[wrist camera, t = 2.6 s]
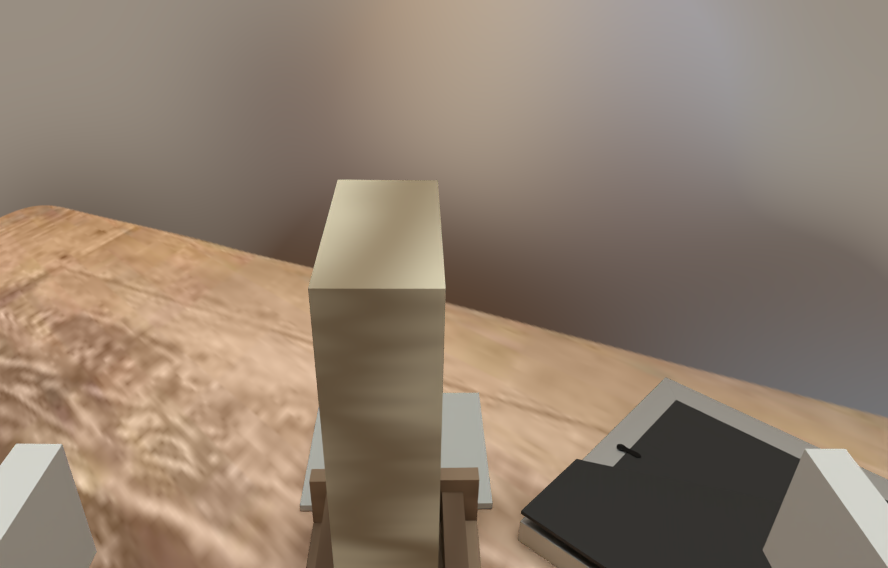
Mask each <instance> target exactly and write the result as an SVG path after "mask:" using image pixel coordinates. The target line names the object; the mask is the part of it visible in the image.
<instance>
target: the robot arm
mask: <svg viewBox="0 0 888 568" xmlns="http://www.w3.org/2000/svg"><path fill="white" fill-rule="evenodd" d="M96 552H97V551H96V548H95V545H94V541H93V538H92V535H91V532H90V529H89V526H88V523H87V520H86V517H85V513H84V510H83V507H82V504H81V501H80V498H79V495H78V492H77V489H76V485H75V482H74V479H73V476H72V473H71V470H70V467H69V464H68V461H67V457H66V454H65V451H64V448H63V445H62V444H16V445H15V446H14V447H13V449H12V450H11V452H10V453H9V454H8V456H7V457H6V458H5V460H4V461H3V463H2V464H1V465H0V568H89V566H90V564H91V562H92V560H93V558H94V556H95V554H96ZM763 552H764V554H765V556H766V558H767V560H768V561H769V563H770V565H771V567H772V568H888V503H887V502H886V501H885V499H884V498H883V497H882V495H881V494H880V493H879V492H878V490H877V489H876V488H875V486H874V485H873V484H872V482H871V481H870V480H869V479H868V477H867V476H866V475H865V473H864V472H863V471H862V470H861V468H860V467H859V466H858V464H857V463H856V462H855V461H854V459H853V458H852V457H851V455H850V454H849V453H848V451H847V450H846V449H805V450H804V452H803V454H802V457H801V459H800V462H799V464H798V466H797V469H796V471H795V474H794V476H793V478H792V481H791V483H790V486H789V488H788V490H787V493H786V495H785V498H784V500H783V502H782V505H781V507H780V510H779V512H778V514H777V517H776V519H775V522H774V524H773V526H772V529H771V531H770V534H769V536H768V538H767V541H766V543H765V546H764V548H763Z"/></svg>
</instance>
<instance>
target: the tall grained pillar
mask: <svg viewBox="0 0 888 568" xmlns="http://www.w3.org/2000/svg"><path fill="white" fill-rule="evenodd" d="M441 234H442V233H441V219H440V205H439V192H438V181H431V180H428V181H427V180H426V181H425V180H422V181H421V180H420V181H419V180H338V182H337V185H336V189H335V192H334V196H333V200H332V203H331V207H330V211H329V215H328V218H327V222H326V225H325V229H324V232H323V236H322V240H321V243H320V247H319V251H318V255H317V258H316V262H315V266H314V269H313V273H312V276H311V280H310V284H309V287H308V292H309V303H310V314H311V325H312V336H313V347H314V358H315V368H316V379H317V390H318V401H319V412H320V423H321V434H322V444H323V455H324V466H325V477H326V488H327V499H328V510H329V520H330V531H331V542H332V553H333V564H334V568H438V551H439V513H440V476H441V439H442V401H443V364H444V326H445V276H444V261H443V247H442V235H441Z"/></svg>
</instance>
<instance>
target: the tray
mask: <svg viewBox="0 0 888 568" xmlns="http://www.w3.org/2000/svg"><path fill="white" fill-rule="evenodd" d="M309 485H310V494H311V503H312V512H313V522H314V523H313V530H312V536H311V542H310V548H309V554H308V560H307V566H306V568H334V564H333V553H332V542H331V531H330V520H329V510H328V499H327V488H326V477H325V469H311V474H310V480H309ZM478 494H479V471H478V467H469V468H441V476H440V513H439V551H438V568H481V560H480V550H479V539H478V529H477V509H478Z"/></svg>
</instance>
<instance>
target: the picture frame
mask: <svg viewBox="0 0 888 568" xmlns="http://www.w3.org/2000/svg"><path fill="white" fill-rule="evenodd" d="M805 449H820V448H818V447H816V446H814V445H812V444H809V443H807V442H805V441H803V440H801V439H799V438H796V437H794V436H792V435H790V434H788V433H785V432H783V431H781V430H779V429H777V428H775V427H772V426H770V425H768V424H766V423H764V422H762V421H759V420H757V419H755V418H753V417H751V416H749V415H746V414H744V413H742V412H740V411H738V410H736V409H733V408H731V407H729V406H727V405H725V404H723V403H720V402H718V401H716V400H714V399H712V398H710V397H707V396H705V395H703V394H701V393H699V392H697V391H694V390H692V389H690V388H688V387H686V386H684V385H681V384H679V383H677V382H675V381H673V380H671V379H668V378H666V377H665V378H664V379H663V380H662V381H661V382H660V383H659V384H658V385H657V386H656V387H655V388H654V389H653V390H652V391H651V392H650V393H649V394H648V395H647V396H646V397H645V398H644V399H643V400H642V401H641V402H640V403H639V404H638V405H637V406H636V407H635V408H634V409H633V410H632V411H631V412H630V413H629V414H628V415H627V416H626V417H625V418H624V419H623V420H622V421H621V422H620V423H619V424H618V425H617V426H616V427H615V428H614V429H613V430H612V431H611V432H610V433H609V434H608V435H607V436H606V437H605V438H604V439H603V440H602V441H601V442H600V443H599V444H598V445H597V446H596V447H595V448H594V449H593V450H592V451H591V452H590V453H589V454H588V455H587V456H586V457H585V458H584V459H583V460H579V459H576V460H575V461H574V462H573V463H572V464H571V465H570V466H569V467H567V468H566V469H565V470H564V471H563V472H562V473H561V474H560V475H559V476H558V477H557V478H556V479H555V480H554V481H553V482H551V483H550V484H549V485H548V486H547V487H546V488H545V489H544V490H543V491H542V492H541V493H540V494H539V495H538V496H537V497H535V498H534V499H533V500H532V501H531V502H530V503H529V504H528V505H527V506H526V507H525V508H524V509H523V510H522V511H521V514H522V515H524V516H525V517H524V518H523V519H522V520H521V521H520V527H519V536H518V540H519V541H520V542H522V543H523V544H524V545H526V546H527V547H529V548H530V549H531V550H533V551H534V552H536V553H537V554H539V555H540V556H541V557H543V558H544V559H546V560H547V561H549V562H550V563H551V564H553V565H554V566H556V567H557V568H772V567H771V565H770V563H769V561H768V560H767V558H766V556H765V554H764V552H763V548H764V546H765V543H766V541H767V538H768V536H769V534H770V531H771V529H772V526H773V524H774V522H775V519H776V517H777V514H778V512H779V510H780V507H781V505H782V502H783V500H784V498H785V495H786V493H787V490H788V488H789V486H790V483H791V481H792V478H793V476H794V474H795V471H796V469H797V466H798V464H799V462H800V459H801V457H802V454H803V452H804V450H805ZM860 468H861V467H860ZM861 470H862V471H863V472H864V473H865V475H866V476H867V477H868V479H869V480H870V481H871V482H872V484H873V485H874V486H875V488H876V489H877V490H878V492H879V493H880V494H881V495H882V497H883V498H884V499H885V501H886V502H887V503H888V480H887V479H885V478H883V477H881V476H879V475H877V474H874V473H872V472H870V471H868V470H866V469H864V468H861Z"/></svg>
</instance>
